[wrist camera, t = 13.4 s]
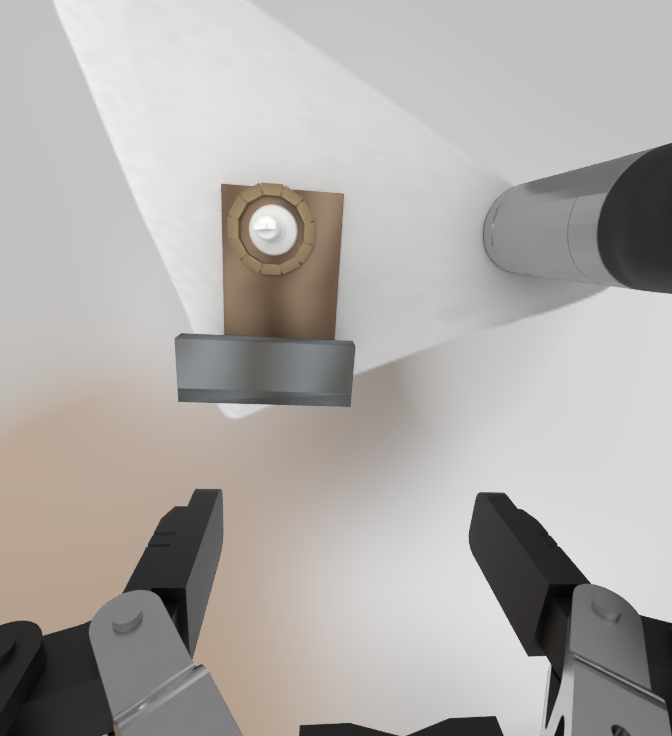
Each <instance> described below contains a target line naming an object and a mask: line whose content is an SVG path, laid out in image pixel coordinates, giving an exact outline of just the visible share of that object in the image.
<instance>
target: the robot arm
mask: <svg viewBox="0 0 672 736" xmlns="http://www.w3.org/2000/svg"><path fill="white" fill-rule="evenodd" d="M484 244H485V248H486V250H487V253H488V255H489V257H490V258H491V260H492V261H493V262H494V263H495V264H496V265H497V266H498V267H500V268H502V269H503V270H505V271H509V272H512V273H519V274H526V275H532V276H540V277H547V278H554V279H562V280H569V281H576V282H583V283H591V284H598V285H605V286H614V287H622V288H629V289H636V290H643V291H651V292H660V293H670V294H672V143H670V144H667V145H663V146H660V147H657V148H653V149H650V150H646V151H642V152H638V153H635V154H631V155H627V156H624V157H620V158H617V159H614V160H610V161H606V162H603V163H599V164H595V165H591V166H587V167H584V168H580V169H576V170H573V171H569V172H565V173H562V174H558V175H554V176H551V177H547V178H542V179H539V180H535V181H532V182H528V183H524V184H521V185H518V186H515V187H513V188H511V189H509V190H508V191H506V192H505V193H503V194H502V195H501V196H500V197H499V198H498V199H497V200H496V202H495V203H494V204H493V206H492V207H491V209H490V211H489V213H488V215H487V218H486V222H485V225H484ZM222 499H223V497H222V490H221V489H195V491H194V493H193V495H192V497H191V500H190V502H189V504H188V506H187V507H179V506H177V507H174V508H173V509H172V510H171V511H169V512H168V513H167V514H166V515H165V516H164V517H162V519H161V520H160V522H159V525H158V526H157V528H156V530H155V532H154V535H153V536H152V538H151V540H150V541H149V543H148V547H146V549H145V551H144V553H143V555H142V557H141V559H140V561H139V563H138V565H137V566H136V569H135V570H134V572H133V574H132V576H131V578H130V580H129V582H128V584H127V586H126V588H125V589H124V592H123V593H122V594H121V595H119V596H117V597H115V598H113V599H112V600H110V601H109V602H107V603H106V604H105V605H104V606H102V607H101V608H100V610H99V611H98V612H97V613H96V614H95V616H94V618H93V619H92V620H91V621H89V622H87V623H85V624H82V625H79V626H75V627H72V628H68V629H65V630H62V631H58V632H55V633H51V634H48V635H45V636H43V635H42V631H41V629H40V628H39V626H38V625H37V624H35V623H33V622H30V621H15V622H10V623H6V624H3V625H0V736H102V735H105V734H106V736H243V735H242V733H241V731H240V729H239V727H238V725H237V723H236V721H235V720H234V718H233V716H232V714H231V712H230V710H229V708H228V707H227V705H226V703H225V701H224V699H223V697H222V695H221V694H220V692H219V690H218V688H217V686H216V685H215V682H214V680H213V679H212V677H211V675H210V673H209V671H208V670H207V669H206V667H205V666H203V665H199V666H197V667H196V666H195V664H194V663H193V661H192V659H193V655H194V651H195V648H196V644H197V640H198V637H199V633H200V629H201V625H202V622H203V618H204V614H205V611H206V606H207V603H208V599H209V595H210V592H211V588H212V585H213V581H214V577H215V573H216V570H217V566H218V562H219V559H220V555H221V550H222V544H223V543H222V542H223V500H222ZM469 544H470V548H471V551H472V554H473V556H474V557H475V559H476V561H477V563H478V565H479V566H480V568H481V570H482V572H483V574H484V576H485V578H486V580H487V581H488V583H489V585H490V587H491V589H492V590H493V592H494V594H495V596H496V598H497V600H498V602H499V603H500V605H501V607H502V609H503V611H504V613H505V615H506V616H507V618H508V620H509V622H510V624H511V626H512V627H513V629H514V631H515V633H516V635H517V637H518V638H519V640H520V642H521V644H522V646H523V648H524V650H525V651H526V653H527V655H528V656H547V658H548V660H549V662H550V663H551V664H550V667H549V670H548V675H547V683H546V692H545V701H544V710H543V718H542V727H541V736H672V623H669V622H665V621H661V620H657V619H653V618H649V617H645V616H641V615H639V614H638V613H637V611H636V610H635V609H634V608H633V607H632V606H631V605H630V604H629V603H628V602H627V601H626V600H625V599H623V598H622V597H621V596H619V595H618V594H616V593H614V592H612V591H610V590H608V589H606V588H604V587H601V586H597V585H593V584H591V583H590V582H589V581H588V580H587V578H586V577H585V576H584V575H583V574H582V572H581V571H580V570H579V569H578V568H577V567H576V565H575V564H574V563H573V562H572V561H571V559H570V558H569V557H568V556H567V555H566V554H565V552H564V551H563V550H562V549H561V548H560V547H558V546H557V543H556V542H555V541H554V539H553V538H552V537H551V536H549V535H548V532H547V531H546V530H545V529H544V528H543V526H542V525H541V524H540V523H539V522H538V521H537V520H536V519H535V518H534V517H532V516H531V515H529V514H528V513H527V512H525V511H524V510H522V509H517V507H516V506H515V505H514V504H513V502H512V501H511V500H510V499H509V497H508V496H507V495H506V494H505V493H490V492H487V493H485V492H482V493H481V492H480V493H478V495H477V497H476V500H475V506H474V511H473V515H472V520H471V525H470V530H469ZM299 736H397V735H394V734H390V733H386V732H382V731H378V730H374V729H371V728H367V727H363V726H359V725H355V724H352V723H339V724H319V725H300V731H299ZM407 736H504V735H503V733H502V730H501V728H500V726H499V723H498V721H497V718H496V716H489V717H470V718H469V717H468V718H449V719H447V720H444V721H442V722H439V723H437V724H434V725H432V726H429V727H427V728H425V729H422V730H419V731H417V732H415V733H412V734H410V735H407Z"/></svg>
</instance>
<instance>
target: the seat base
mask: <svg viewBox="0 0 672 736" xmlns="http://www.w3.org/2000/svg"><path fill="white" fill-rule="evenodd" d="M221 194H222V241H223V289H224V335H207V334H183V333H181V334H180V335H179V336H177V337H176V338H175V351H176V369H177V385H178V401H179V402H208V403H239V404H273V405H309V406H342V407H344V406H345V407H350V404H351V393H352V380H353V369H354V357H355V345H354V343H353V341H339V340H334V336H335V321H336V306H337V291H338V275H339V260H340V245H341V229H342V214H343V199H344V194H340V193H327V192H315V191H303V190H291V189H289V188H288V187H287V186H285V187H284V188H283V184H270V183H261V186H260V184H259V183H258V184H257V185H255V186H241V185H229V184H221ZM269 204H275V205H280V206H282V207H284V208H286V209H287V210H288V211H289V212H290V213H291V214H292V215H293V216H294V218H295V220H296V223H297V227H298V236H297V240H296V242H295V244H294V246H293V247H292V248H291V249H290V250H289V251H288V252H287V253H285V254H282V255H279V256H270V255H267V254H264V253H262V252H261V251H259V250H258V249H257V248H256V247H255V246H254V244H253V243H252V241H251V238H250V235H249V223H250V219H251V217H252V215H253V214H254V213H255V211H256V210H258V209H259V208H260V207H262V206H265V205H269Z"/></svg>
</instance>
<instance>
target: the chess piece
mask: <svg viewBox="0 0 672 736" xmlns="http://www.w3.org/2000/svg"><path fill="white" fill-rule="evenodd" d="M249 235H250V238H251V241H252V243H253V244H254V246H255V247H256V248H257V249H258V250H259V251H261V252H262V253H264V254H267V255H270V256H279V255H282V254H285V253H287V252H288V251H289V250H290V249H291V248H292V247H293V246H294V244H295V242H296V240H297V236H298V227H297V223H296V220H295V218H294V216H293V215H292V214H291V213H290V212H289V211H288V210H287V209H286V208H284V207H282V206H280V205H275V204H269V205H265V206H262V207H260V208H259V209H258V210H256V211H255V213H254V214H253V215H252V217H251V219H250V223H249Z"/></svg>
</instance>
